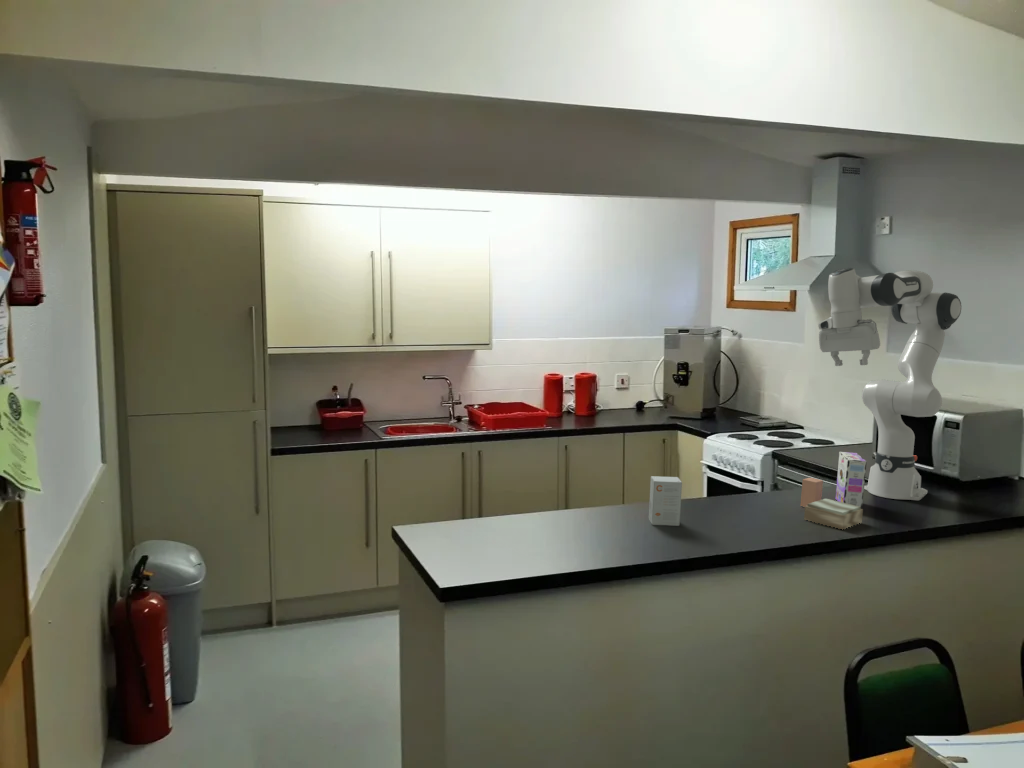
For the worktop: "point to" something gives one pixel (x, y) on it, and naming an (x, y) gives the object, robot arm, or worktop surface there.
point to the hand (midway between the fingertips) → (851, 365)
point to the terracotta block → (811, 491)
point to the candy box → (850, 478)
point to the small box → (665, 500)
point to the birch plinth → (833, 513)
